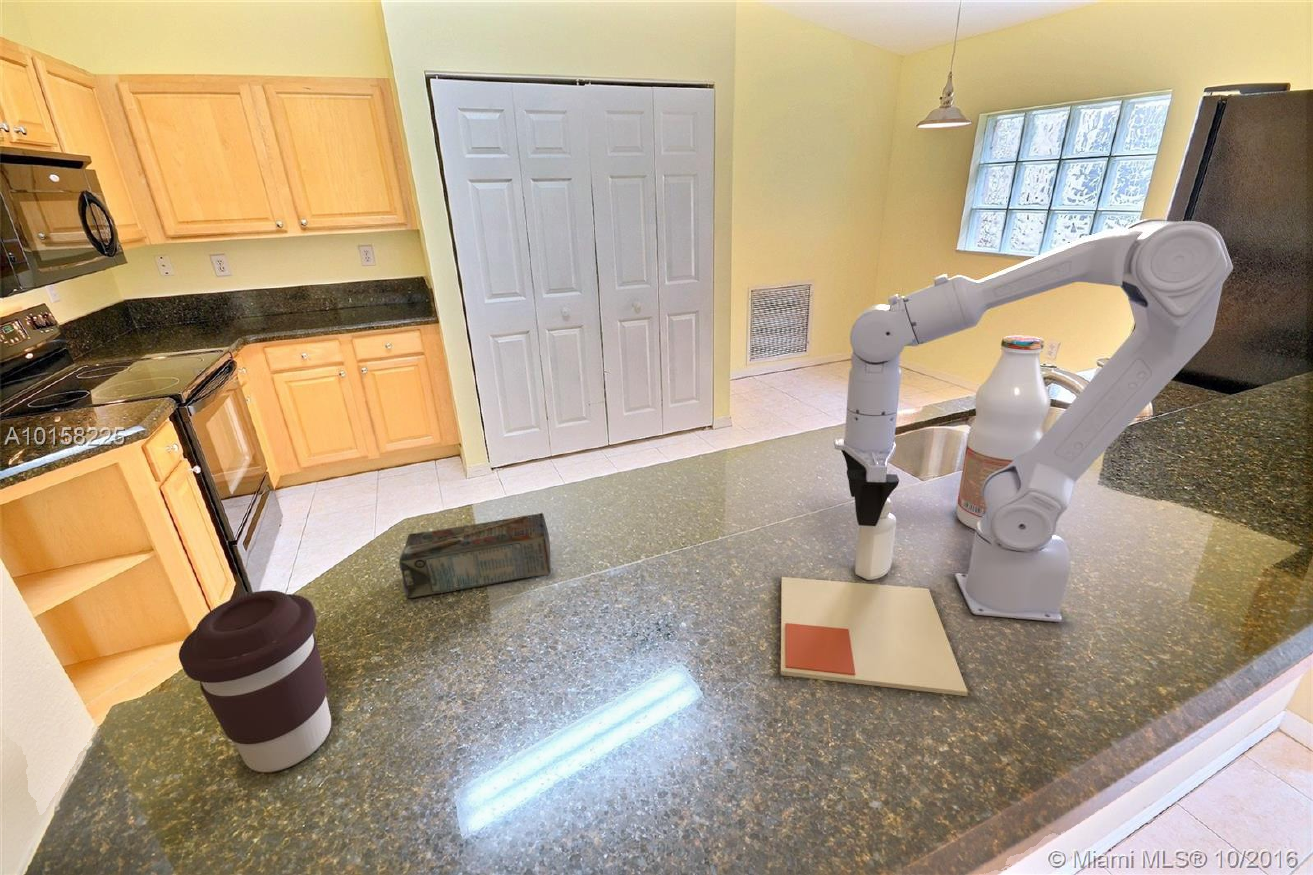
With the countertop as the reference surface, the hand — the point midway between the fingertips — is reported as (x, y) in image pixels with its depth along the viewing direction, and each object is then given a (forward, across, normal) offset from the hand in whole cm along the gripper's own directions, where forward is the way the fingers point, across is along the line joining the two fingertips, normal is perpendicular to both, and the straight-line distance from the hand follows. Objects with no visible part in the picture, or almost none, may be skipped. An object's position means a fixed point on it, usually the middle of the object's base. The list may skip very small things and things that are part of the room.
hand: (862, 509), depth 74 cm
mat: (+9, +12, -1) cm, 15 cm away
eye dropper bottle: (+10, -1, +2) cm, 10 cm away
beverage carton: (+9, +7, -51) cm, 52 cm away
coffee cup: (+9, +36, -56) cm, 67 cm away
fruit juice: (+10, -17, +21) cm, 29 cm away
